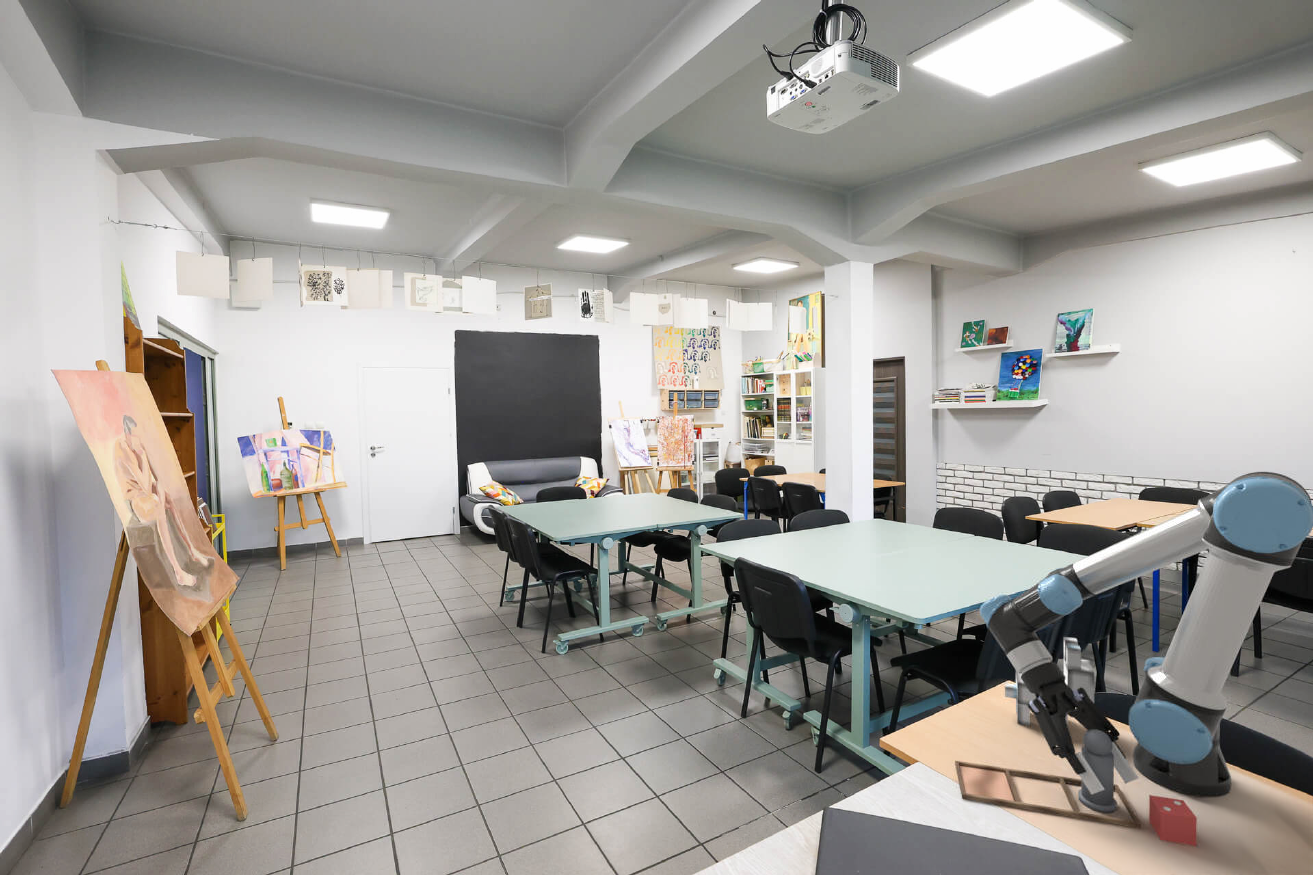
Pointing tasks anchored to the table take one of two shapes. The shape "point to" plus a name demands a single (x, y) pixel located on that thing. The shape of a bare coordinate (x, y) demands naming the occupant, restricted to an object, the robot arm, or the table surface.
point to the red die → (1173, 820)
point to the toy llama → (1076, 677)
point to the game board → (995, 789)
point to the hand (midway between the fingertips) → (1115, 786)
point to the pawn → (1099, 771)
